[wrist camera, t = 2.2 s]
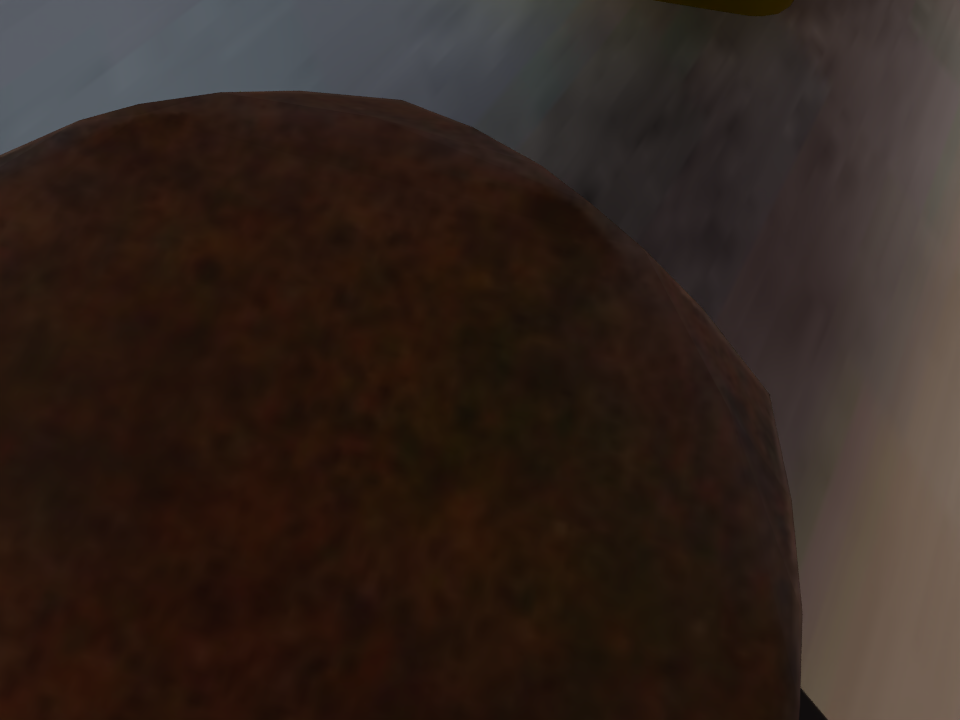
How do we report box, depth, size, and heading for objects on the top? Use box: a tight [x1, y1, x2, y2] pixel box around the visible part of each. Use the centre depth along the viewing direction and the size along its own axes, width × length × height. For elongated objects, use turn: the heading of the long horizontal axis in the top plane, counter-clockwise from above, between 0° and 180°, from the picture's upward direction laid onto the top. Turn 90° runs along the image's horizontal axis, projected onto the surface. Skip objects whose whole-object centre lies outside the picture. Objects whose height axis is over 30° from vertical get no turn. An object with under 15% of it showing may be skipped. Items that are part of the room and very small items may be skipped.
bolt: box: [0, 91, 802, 720], centre depth 10 cm, size 6×5×15 cm
